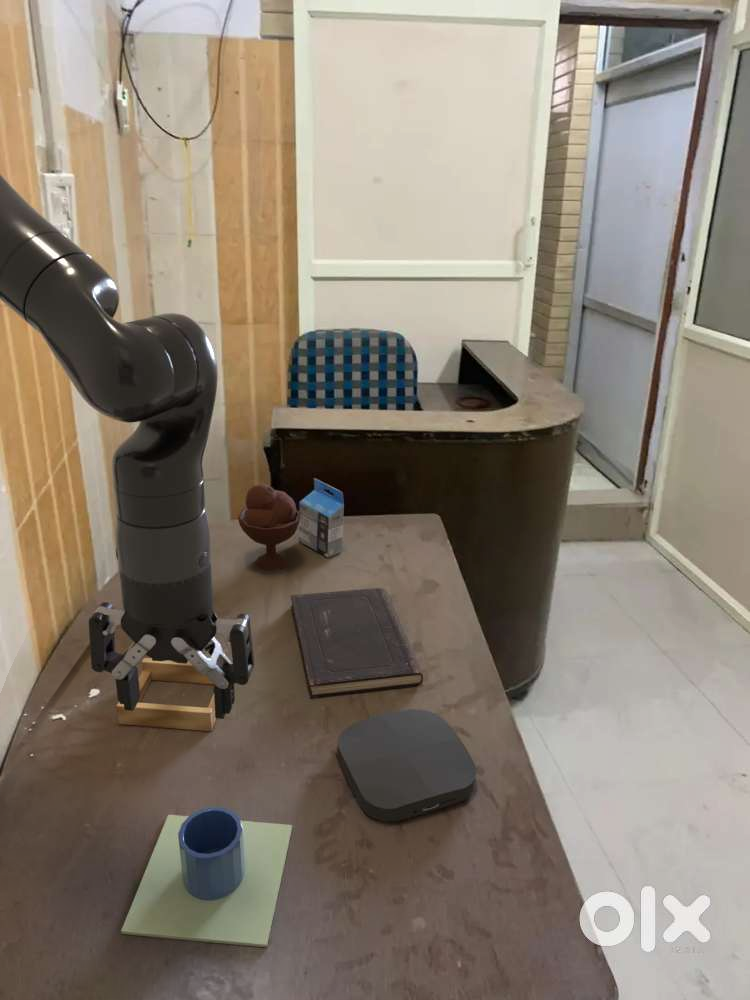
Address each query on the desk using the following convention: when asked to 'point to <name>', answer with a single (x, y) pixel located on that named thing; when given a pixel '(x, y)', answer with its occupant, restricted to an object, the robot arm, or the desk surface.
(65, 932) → the desk surface
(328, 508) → the label tape box
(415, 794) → the media streaming box
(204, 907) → the mat
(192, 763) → the desk surface
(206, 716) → the tray
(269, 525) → the ice cream bowl
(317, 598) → the hardcover book
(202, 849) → the small cup
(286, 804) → the desk surface
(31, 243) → the robot arm
